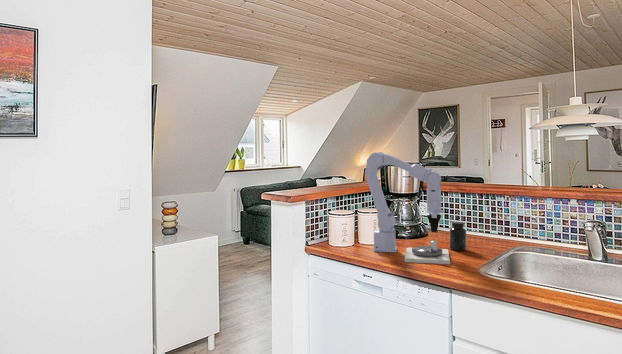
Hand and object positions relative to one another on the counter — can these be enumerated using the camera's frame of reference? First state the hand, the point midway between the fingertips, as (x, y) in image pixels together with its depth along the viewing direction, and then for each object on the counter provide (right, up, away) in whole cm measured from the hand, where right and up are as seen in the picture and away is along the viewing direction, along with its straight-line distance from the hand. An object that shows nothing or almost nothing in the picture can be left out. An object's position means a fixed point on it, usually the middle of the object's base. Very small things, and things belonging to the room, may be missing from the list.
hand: (434, 231), depth 161 cm
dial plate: (-4, -10, -4) cm, 12 cm away
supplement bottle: (+13, -9, +6) cm, 17 cm away
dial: (-4, -8, -4) cm, 10 cm away
